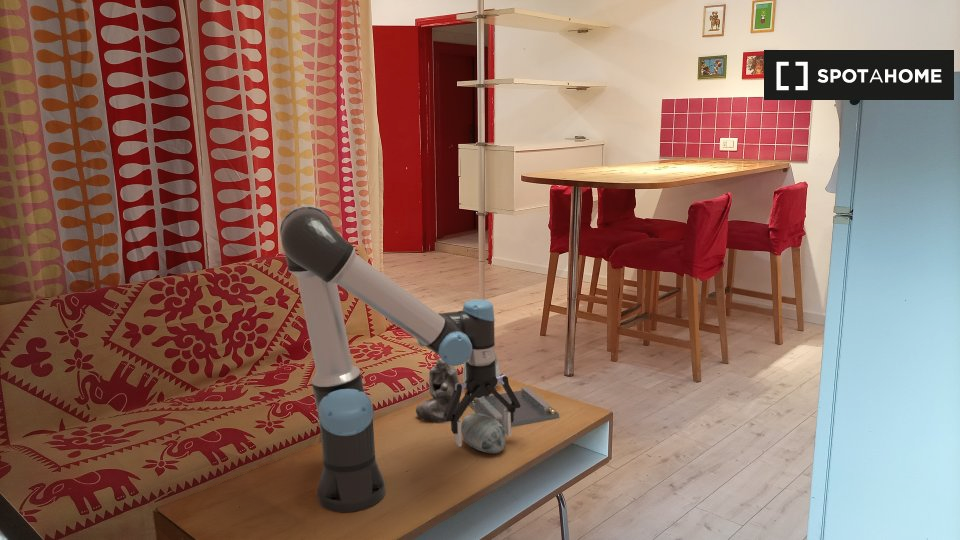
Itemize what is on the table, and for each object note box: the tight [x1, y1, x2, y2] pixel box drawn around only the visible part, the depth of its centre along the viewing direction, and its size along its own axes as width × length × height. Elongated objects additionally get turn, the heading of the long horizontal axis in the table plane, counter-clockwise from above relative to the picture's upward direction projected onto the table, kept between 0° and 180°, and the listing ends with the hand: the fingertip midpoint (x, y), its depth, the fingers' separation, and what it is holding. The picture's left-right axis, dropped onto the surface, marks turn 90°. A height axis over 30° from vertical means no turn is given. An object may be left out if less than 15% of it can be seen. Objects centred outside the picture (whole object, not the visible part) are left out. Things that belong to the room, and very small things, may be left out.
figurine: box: [415, 357, 461, 423], centre depth 205 cm, size 13×12×18 cm
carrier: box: [469, 386, 560, 429], centre depth 208 cm, size 20×20×3 cm
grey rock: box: [461, 412, 507, 454], centre depth 186 cm, size 14×10×10 cm
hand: (483, 439), depth 186 cm, fingers open, 13 cm apart
